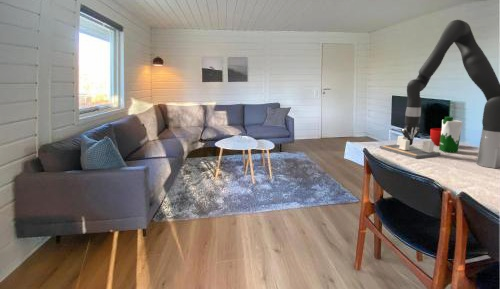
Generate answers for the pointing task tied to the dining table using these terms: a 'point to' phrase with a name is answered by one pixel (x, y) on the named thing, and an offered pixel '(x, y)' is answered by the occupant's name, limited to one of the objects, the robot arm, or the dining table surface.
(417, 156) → the panel
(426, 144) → the block
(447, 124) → the milk carton
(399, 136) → the block
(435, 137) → the ceramic cup
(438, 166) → the dining table surface
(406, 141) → the block
